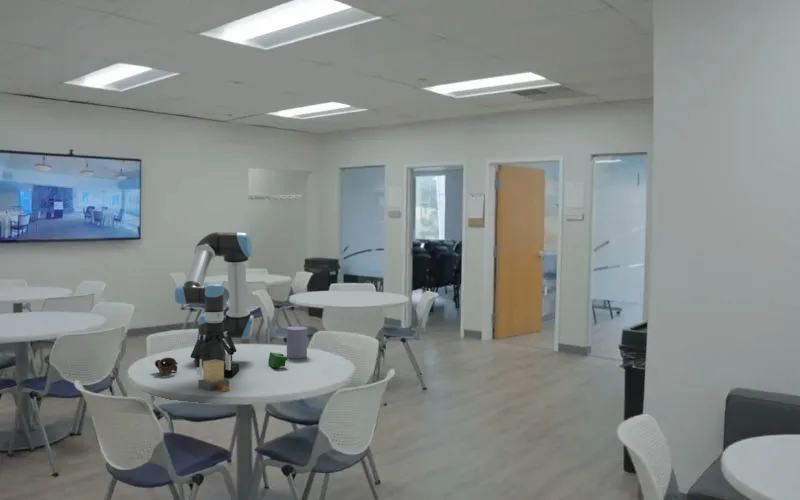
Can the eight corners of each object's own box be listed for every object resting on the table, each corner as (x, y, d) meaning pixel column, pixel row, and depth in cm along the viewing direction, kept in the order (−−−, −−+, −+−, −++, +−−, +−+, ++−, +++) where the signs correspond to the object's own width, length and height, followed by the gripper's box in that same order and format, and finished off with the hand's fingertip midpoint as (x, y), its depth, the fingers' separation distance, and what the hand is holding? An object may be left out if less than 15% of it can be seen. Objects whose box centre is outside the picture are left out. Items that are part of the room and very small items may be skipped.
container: (310, 357, 328) (310, 328, 327) (291, 359, 322) (292, 330, 321) (301, 354, 336) (301, 326, 336) (283, 356, 330) (283, 327, 330)
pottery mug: (183, 372, 292) (181, 358, 287) (170, 385, 284) (168, 371, 280) (161, 364, 295) (159, 351, 291) (148, 377, 287) (145, 364, 283)
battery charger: (218, 371, 295) (218, 363, 295) (239, 372, 296) (239, 363, 295) (210, 378, 282) (210, 369, 282) (232, 378, 283) (232, 369, 283)
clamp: (283, 375, 304) (288, 359, 302) (271, 374, 302) (276, 358, 299) (279, 361, 315) (284, 346, 312) (267, 360, 312) (272, 344, 309)
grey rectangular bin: (198, 387, 266) (198, 371, 266) (217, 383, 273) (217, 368, 272) (216, 393, 257) (216, 377, 257) (235, 389, 264) (235, 373, 263)
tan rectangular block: (203, 380, 266) (203, 361, 266) (216, 377, 271) (216, 359, 270) (211, 382, 262) (211, 363, 262) (223, 380, 267) (223, 361, 266)
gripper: (191, 325, 253) (191, 378, 254) (244, 319, 272) (244, 368, 273) (181, 323, 258) (181, 375, 259) (234, 317, 277) (234, 366, 278)
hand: (213, 372), depth 266 cm, fingers open, 13 cm apart
